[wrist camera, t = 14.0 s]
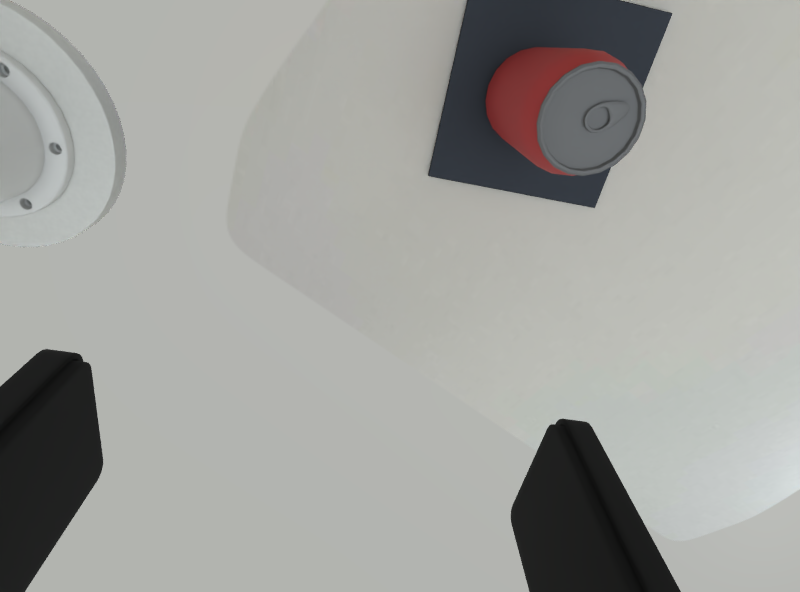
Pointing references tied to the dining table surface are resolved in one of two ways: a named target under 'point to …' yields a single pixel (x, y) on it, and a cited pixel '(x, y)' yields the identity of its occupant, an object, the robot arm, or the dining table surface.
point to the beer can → (567, 108)
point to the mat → (503, 37)
